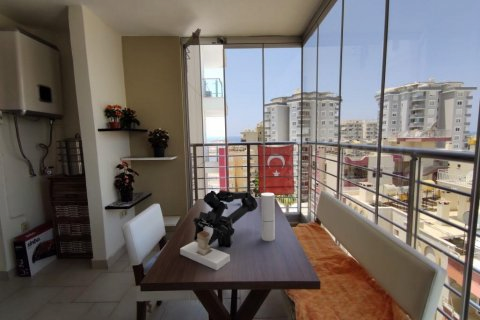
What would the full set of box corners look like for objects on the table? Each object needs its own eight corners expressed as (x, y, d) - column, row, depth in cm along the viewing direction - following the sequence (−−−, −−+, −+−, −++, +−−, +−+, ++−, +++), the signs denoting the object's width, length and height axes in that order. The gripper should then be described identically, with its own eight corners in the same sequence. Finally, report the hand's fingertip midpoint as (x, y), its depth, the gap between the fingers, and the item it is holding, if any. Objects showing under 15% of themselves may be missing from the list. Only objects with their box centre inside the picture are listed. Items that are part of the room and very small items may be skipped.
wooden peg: (204, 254, 113) (203, 230, 112) (210, 256, 111) (209, 232, 109) (198, 258, 110) (197, 233, 109) (204, 260, 107) (203, 235, 106)
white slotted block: (194, 246, 121) (194, 241, 121) (230, 260, 107) (229, 254, 106) (180, 254, 114) (180, 248, 113) (216, 270, 100) (216, 263, 99)
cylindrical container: (273, 235, 132) (273, 192, 130) (275, 240, 125) (275, 195, 122) (261, 235, 132) (260, 192, 129) (262, 241, 125) (262, 196, 122)
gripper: (194, 201, 116) (178, 230, 109) (223, 208, 105) (206, 240, 97) (206, 212, 123) (191, 240, 116) (234, 219, 112) (219, 250, 105)
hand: (201, 242), depth 108 cm, fingers open, 9 cm apart
